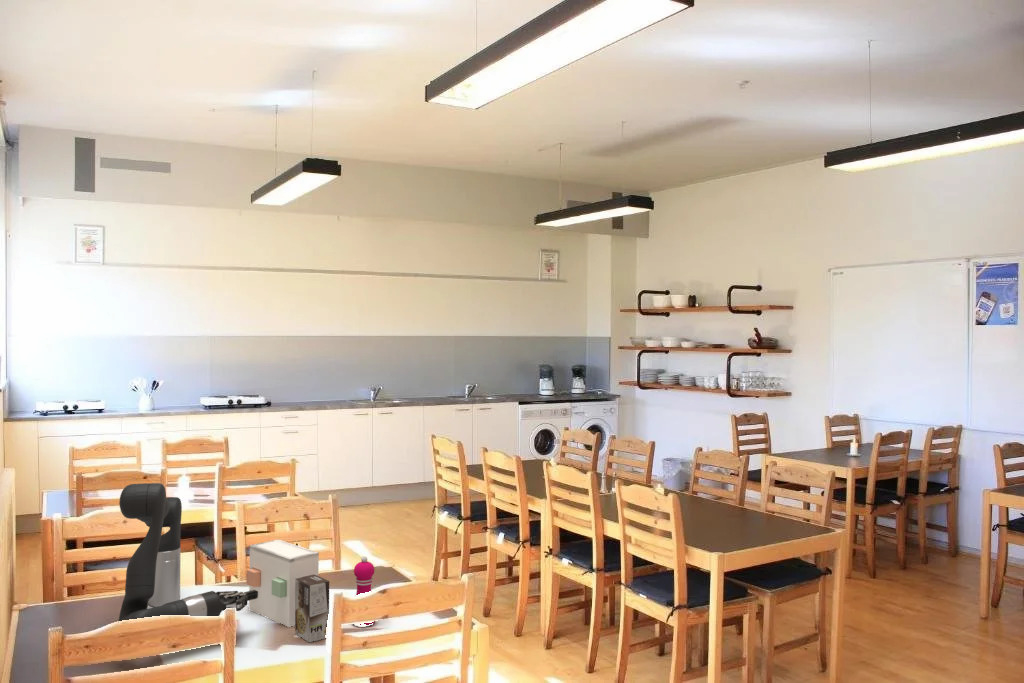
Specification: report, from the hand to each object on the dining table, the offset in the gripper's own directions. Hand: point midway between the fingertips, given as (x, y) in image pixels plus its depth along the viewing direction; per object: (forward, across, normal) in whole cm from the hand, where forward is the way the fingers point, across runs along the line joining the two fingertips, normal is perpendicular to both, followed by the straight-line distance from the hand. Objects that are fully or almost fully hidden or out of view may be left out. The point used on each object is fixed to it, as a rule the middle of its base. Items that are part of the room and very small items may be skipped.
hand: (256, 593), depth 234 cm
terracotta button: (+8, +14, +2) cm, 16 cm away
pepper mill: (+25, -17, +11) cm, 32 cm away
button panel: (+13, +7, +11) cm, 19 cm away
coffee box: (+9, -14, +11) cm, 20 cm away
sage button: (+8, 0, +2) cm, 9 cm away
